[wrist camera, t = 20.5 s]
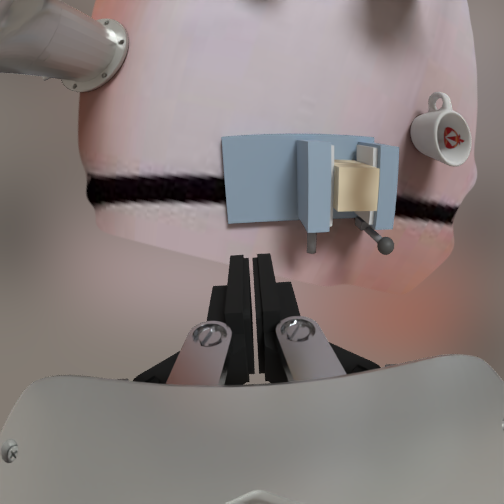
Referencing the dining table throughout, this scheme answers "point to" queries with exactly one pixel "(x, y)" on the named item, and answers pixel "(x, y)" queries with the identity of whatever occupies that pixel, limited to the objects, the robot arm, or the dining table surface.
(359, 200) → the maple block
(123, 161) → the dining table surface
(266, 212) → the vise bed
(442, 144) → the cup
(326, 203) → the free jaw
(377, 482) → the robot arm
